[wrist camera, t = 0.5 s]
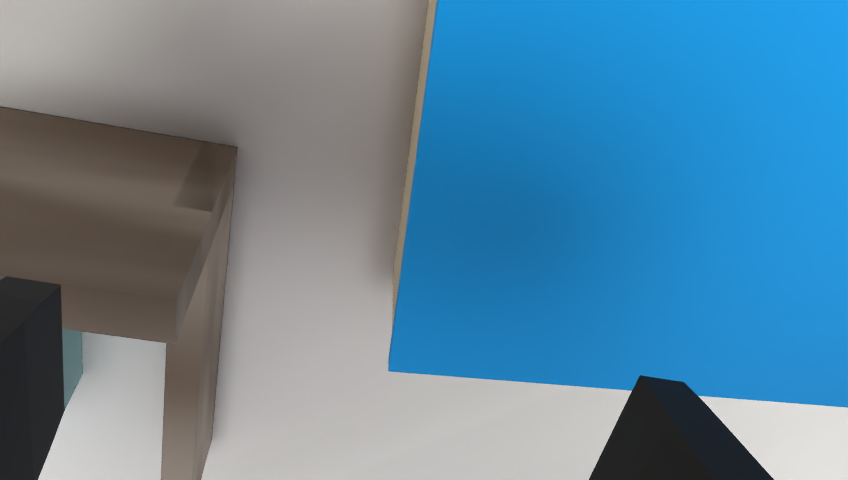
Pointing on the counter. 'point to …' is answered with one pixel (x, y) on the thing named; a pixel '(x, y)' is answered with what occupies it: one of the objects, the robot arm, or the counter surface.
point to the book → (629, 197)
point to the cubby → (127, 248)
